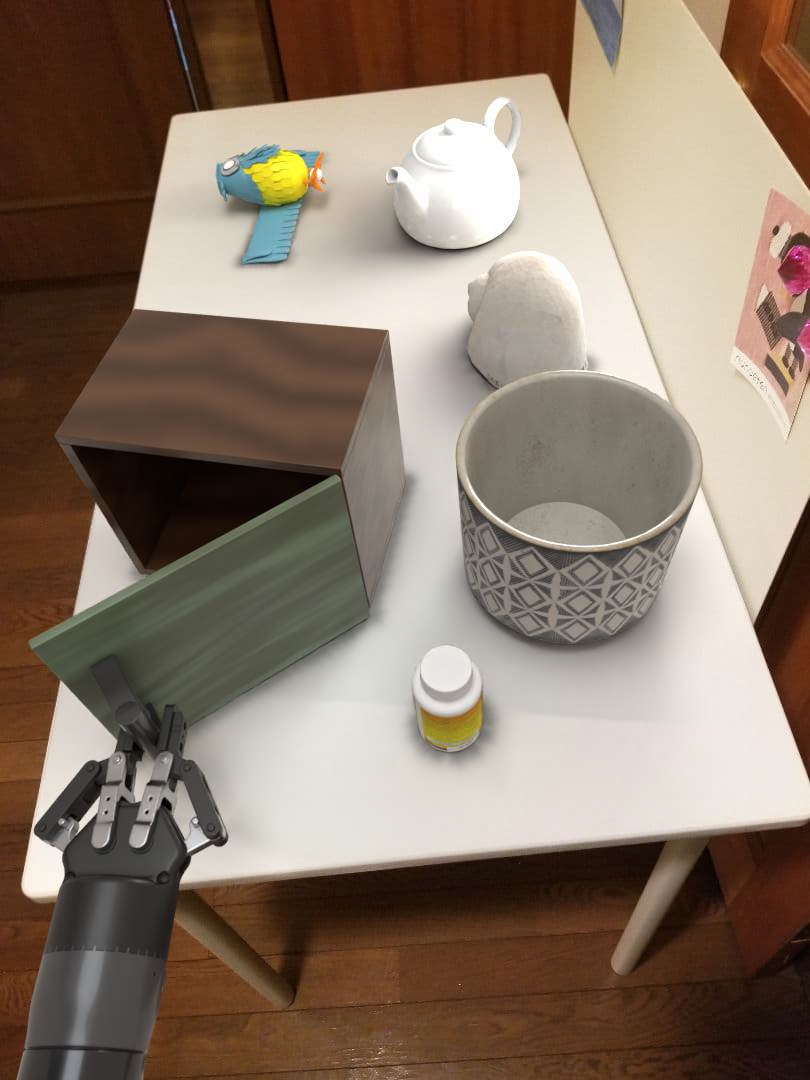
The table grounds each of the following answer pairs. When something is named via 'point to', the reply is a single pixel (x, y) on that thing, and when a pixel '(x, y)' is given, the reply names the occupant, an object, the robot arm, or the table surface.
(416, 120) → the table surface
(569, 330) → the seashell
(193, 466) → the cupboard
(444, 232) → the teapot
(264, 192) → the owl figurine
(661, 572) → the planter
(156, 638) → the cupboard door
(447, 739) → the supplement bottle
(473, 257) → the table surface
